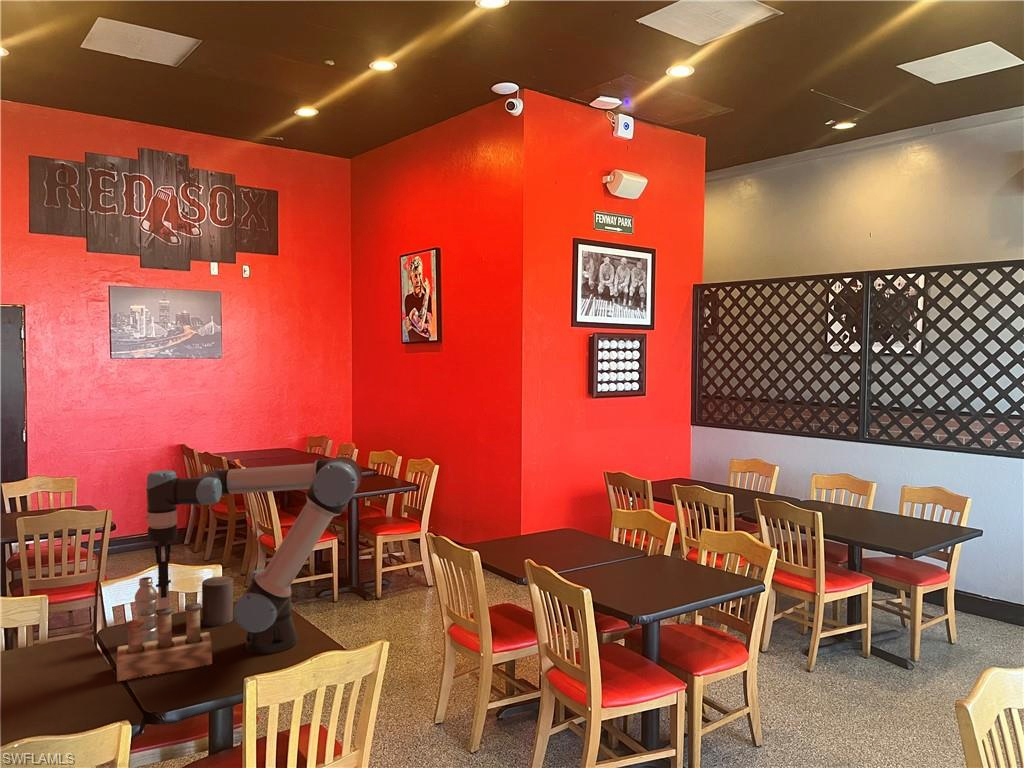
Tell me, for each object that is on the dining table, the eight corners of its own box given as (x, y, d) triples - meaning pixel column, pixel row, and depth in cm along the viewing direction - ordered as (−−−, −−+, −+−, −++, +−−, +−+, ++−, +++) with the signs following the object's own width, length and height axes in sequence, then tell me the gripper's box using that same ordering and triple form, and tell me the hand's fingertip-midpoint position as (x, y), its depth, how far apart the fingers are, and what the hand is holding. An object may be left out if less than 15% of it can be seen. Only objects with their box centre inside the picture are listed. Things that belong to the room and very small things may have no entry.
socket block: (209, 651, 217) (209, 631, 217) (212, 664, 209) (211, 643, 208) (118, 667, 207) (117, 646, 206) (117, 681, 198) (116, 659, 197)
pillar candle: (197, 626, 237) (196, 581, 237) (209, 615, 247) (208, 572, 246) (226, 626, 237) (226, 581, 237) (237, 615, 247) (237, 572, 246)
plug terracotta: (148, 657, 206) (147, 619, 205) (136, 663, 201) (135, 625, 201) (134, 655, 207) (133, 618, 206) (123, 662, 202) (122, 624, 202)
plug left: (205, 639, 212) (204, 603, 212) (195, 645, 208) (194, 608, 208) (192, 638, 213) (191, 602, 213) (182, 644, 209) (181, 607, 209)
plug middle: (176, 644, 209) (176, 607, 209) (166, 650, 205) (165, 613, 204) (163, 643, 210) (162, 606, 210) (153, 649, 206) (152, 611, 205)
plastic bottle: (134, 648, 220) (133, 583, 219) (136, 640, 226) (134, 577, 225) (158, 645, 222) (156, 580, 221) (159, 637, 229) (157, 574, 228)
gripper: (147, 522, 210) (149, 602, 211) (147, 532, 198) (149, 617, 199) (176, 519, 213) (177, 598, 214) (177, 529, 202) (179, 612, 203)
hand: (163, 607), depth 207 cm, fingers closed
